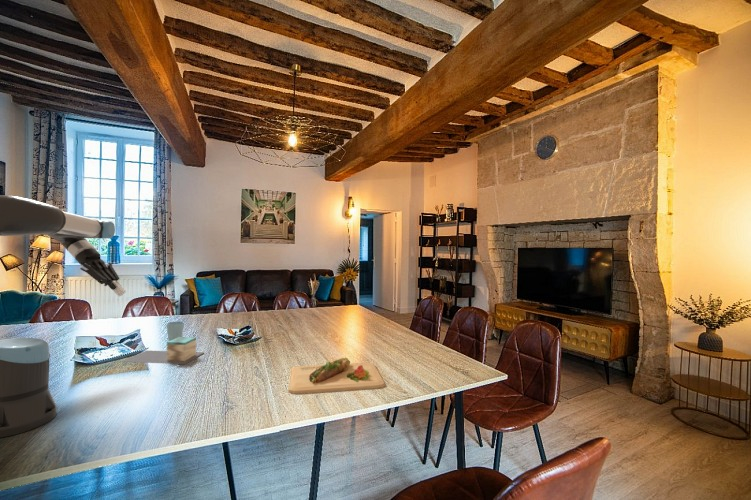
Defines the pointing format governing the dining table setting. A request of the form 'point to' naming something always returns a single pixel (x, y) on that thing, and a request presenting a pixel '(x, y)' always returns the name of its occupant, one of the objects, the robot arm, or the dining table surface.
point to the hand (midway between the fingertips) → (122, 293)
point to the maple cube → (181, 348)
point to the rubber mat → (158, 358)
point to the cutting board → (334, 377)
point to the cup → (174, 330)
